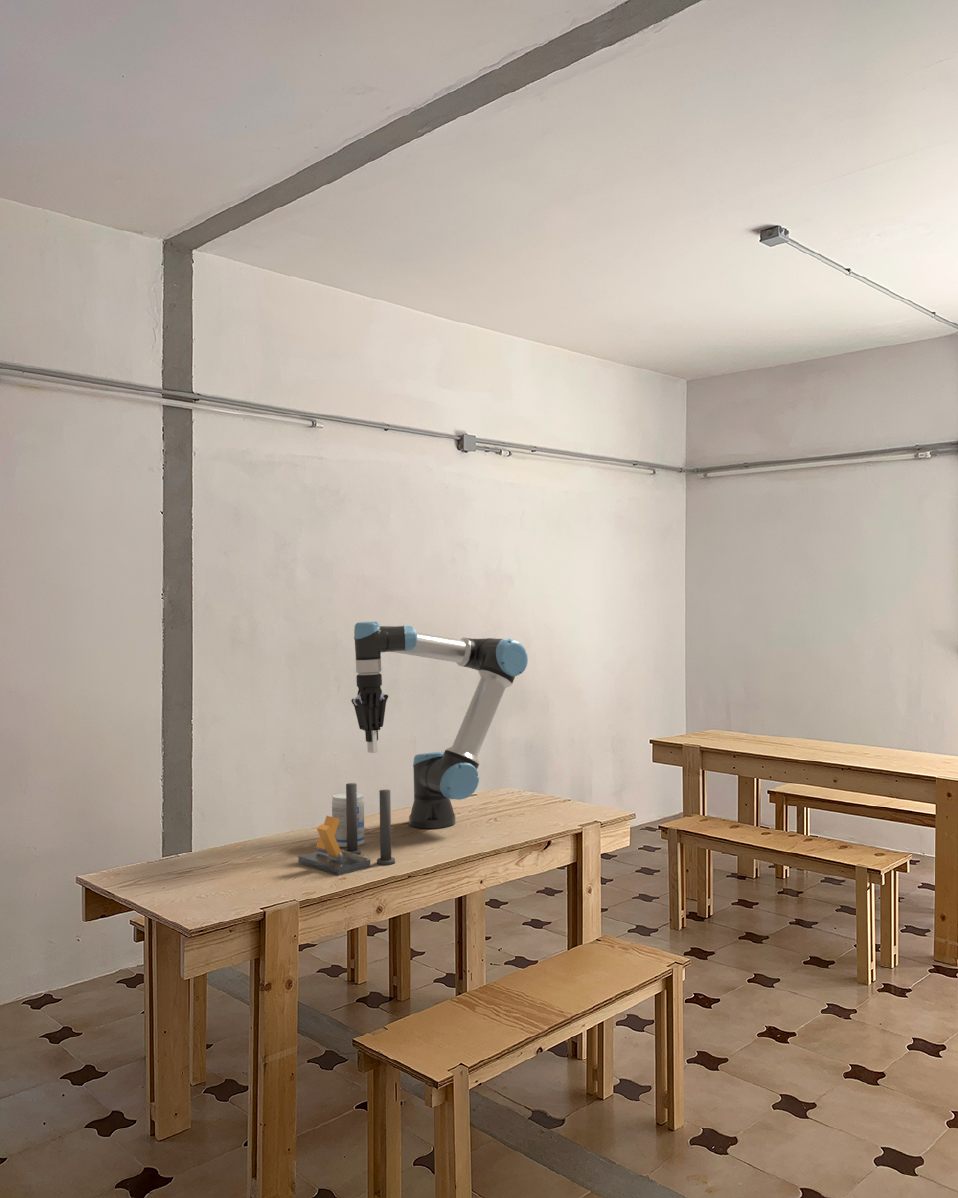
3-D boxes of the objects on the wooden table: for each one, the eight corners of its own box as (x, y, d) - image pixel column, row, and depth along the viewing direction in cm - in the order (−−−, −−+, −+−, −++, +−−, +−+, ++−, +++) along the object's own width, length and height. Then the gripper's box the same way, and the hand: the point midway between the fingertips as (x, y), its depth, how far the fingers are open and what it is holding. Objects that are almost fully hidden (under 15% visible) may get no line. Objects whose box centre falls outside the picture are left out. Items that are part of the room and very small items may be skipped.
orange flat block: (319, 851, 273) (330, 817, 276) (328, 854, 270) (340, 819, 273) (314, 850, 272) (326, 815, 275) (324, 852, 269) (335, 817, 272)
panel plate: (330, 855, 277) (330, 846, 277) (370, 867, 264) (370, 857, 264) (298, 863, 269) (298, 854, 269) (338, 875, 256) (337, 865, 256)
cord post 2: (387, 859, 272) (386, 788, 272) (398, 862, 268) (397, 790, 268) (373, 863, 268) (372, 790, 268) (384, 866, 265) (383, 793, 265)
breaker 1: (334, 853, 267) (320, 824, 264) (343, 856, 264) (330, 826, 261) (329, 857, 266) (316, 827, 263) (339, 860, 263) (325, 830, 260)
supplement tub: (351, 850, 283) (350, 799, 283) (325, 846, 288) (324, 796, 288) (371, 842, 291) (370, 793, 291) (345, 839, 296) (345, 791, 296)
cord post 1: (353, 850, 282) (352, 781, 282) (364, 853, 279) (363, 783, 279) (340, 853, 279) (338, 784, 279) (350, 856, 275) (349, 786, 275)
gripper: (376, 671, 296) (380, 747, 297) (343, 675, 287) (347, 754, 287) (393, 671, 291) (397, 749, 292) (360, 676, 282) (364, 756, 282)
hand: (372, 752), depth 289 cm, fingers closed
